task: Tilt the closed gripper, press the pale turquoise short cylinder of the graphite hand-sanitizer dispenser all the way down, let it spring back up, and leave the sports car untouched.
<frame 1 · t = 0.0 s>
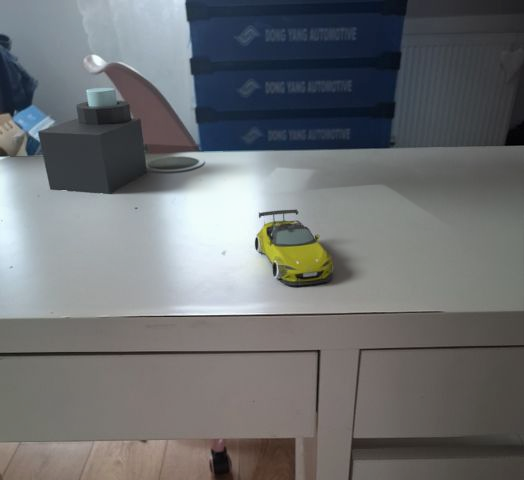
dispenser: (100, 181, 70), on the table
sports car: (292, 263, 48), on the table
pale turquoise short cylinder: (102, 98, 68), point 9 cm above the table, slide at 0.1 cm
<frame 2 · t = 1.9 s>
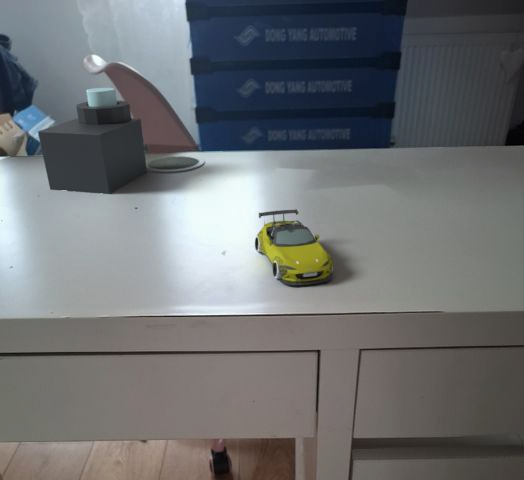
nothing on the table moved.
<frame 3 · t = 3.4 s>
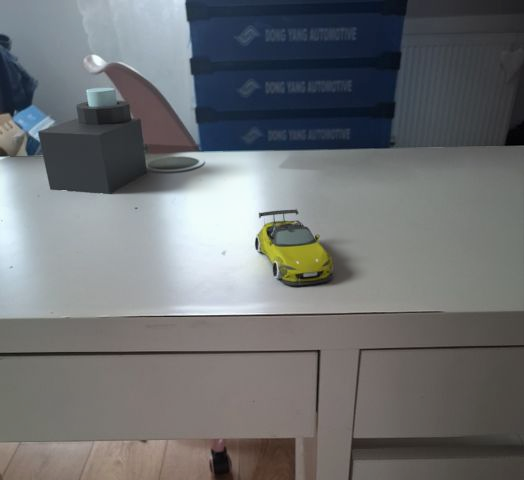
nothing on the table moved.
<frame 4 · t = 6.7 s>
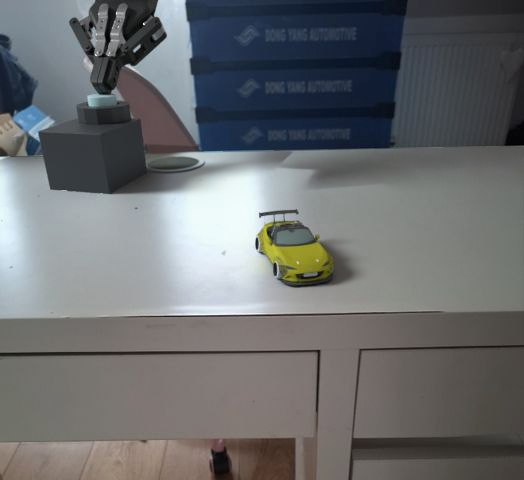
hand: (101, 90, 67), 10 cm above the table, tool tilted 45°, fingers closed
pale turquoise short cylinder: (102, 104, 68), point 8 cm above the table, slide at -0.6 cm, touching gripper
everything else where it was.
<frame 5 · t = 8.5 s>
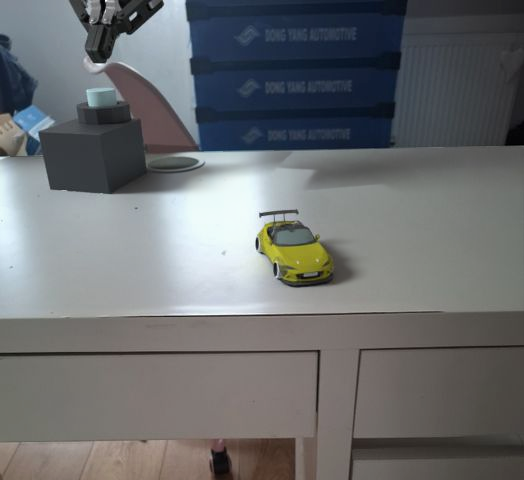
hand: (96, 58, 65), 13 cm above the table, tool tilted 45°, fingers closed
pale turquoise short cylinder: (102, 98, 68), point 9 cm above the table, slide at 0.1 cm
everything else where it was.
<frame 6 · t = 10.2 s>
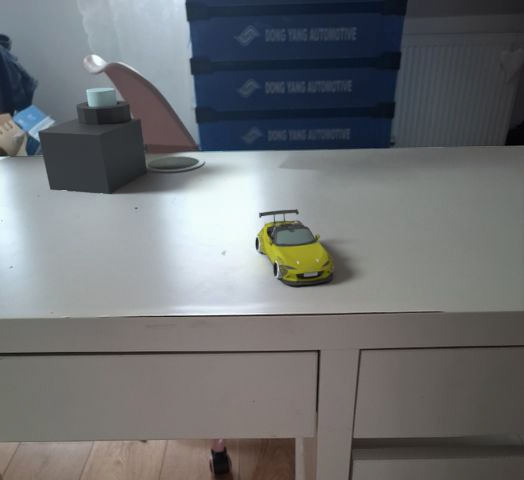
nothing on the table moved.
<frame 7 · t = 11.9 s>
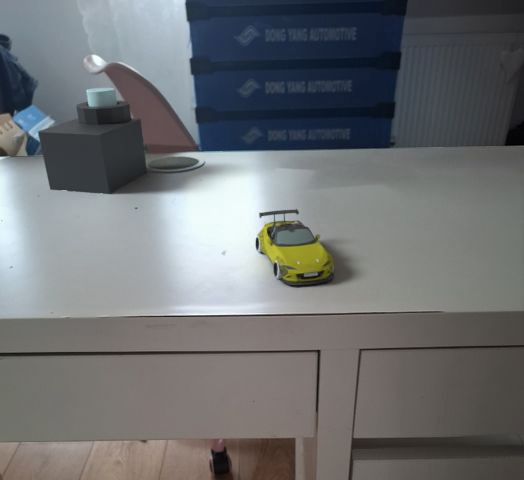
nothing on the table moved.
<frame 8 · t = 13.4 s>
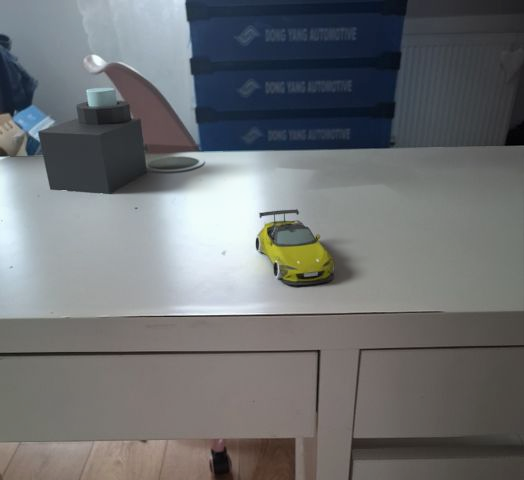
nothing on the table moved.
at the end: pale turquoise short cylinder pushed in 1.3 cm at the most during the clip, back to where it started at the end; pale turquoise short cylinder slide at 0.1 cm; sports car moved 0.2 cm from its start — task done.
